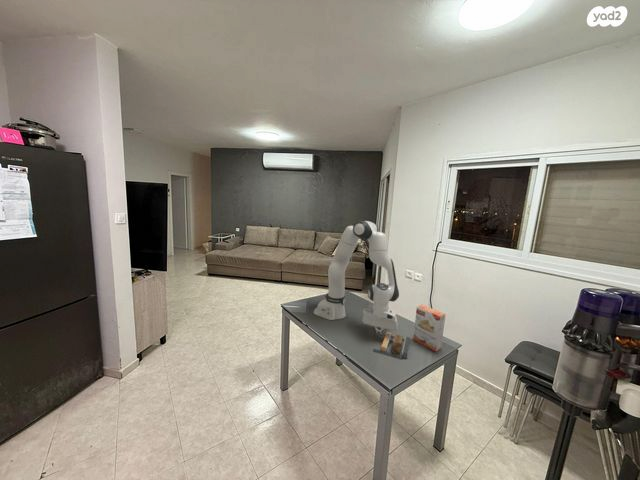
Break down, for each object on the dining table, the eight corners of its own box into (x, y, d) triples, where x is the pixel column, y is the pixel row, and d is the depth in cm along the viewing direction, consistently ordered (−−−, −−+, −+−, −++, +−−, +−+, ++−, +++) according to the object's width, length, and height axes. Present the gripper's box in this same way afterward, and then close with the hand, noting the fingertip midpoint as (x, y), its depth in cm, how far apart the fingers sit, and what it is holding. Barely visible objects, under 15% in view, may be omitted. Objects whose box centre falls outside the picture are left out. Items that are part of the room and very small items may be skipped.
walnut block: (392, 352, 131) (393, 341, 130) (394, 344, 138) (395, 334, 137) (399, 354, 129) (401, 343, 128) (401, 346, 136) (402, 336, 135)
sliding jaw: (381, 351, 131) (381, 346, 131) (386, 336, 145) (386, 331, 145) (386, 352, 130) (386, 347, 130) (390, 337, 144) (391, 332, 144)
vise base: (373, 351, 131) (373, 345, 131) (380, 333, 148) (380, 328, 148) (406, 360, 125) (406, 354, 124) (409, 341, 142) (410, 336, 141)
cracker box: (412, 339, 143) (416, 306, 139) (418, 336, 147) (422, 304, 143) (435, 352, 132) (440, 316, 128) (441, 348, 135) (446, 313, 132)
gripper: (361, 309, 144) (360, 331, 146) (397, 317, 136) (395, 340, 138) (364, 305, 150) (363, 326, 152) (399, 313, 141) (397, 335, 144)
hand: (378, 333), depth 145 cm, fingers closed
